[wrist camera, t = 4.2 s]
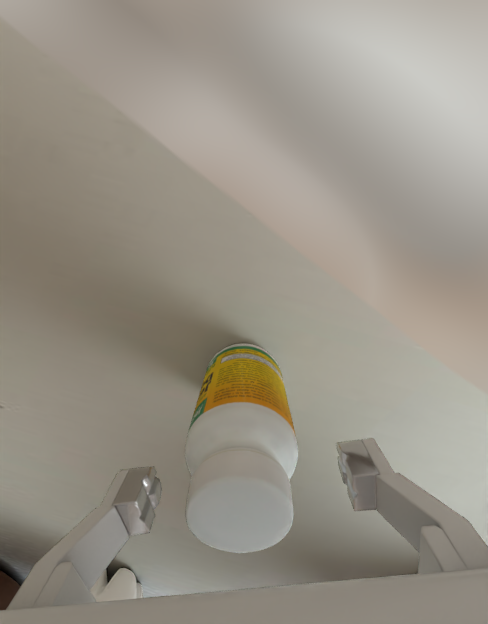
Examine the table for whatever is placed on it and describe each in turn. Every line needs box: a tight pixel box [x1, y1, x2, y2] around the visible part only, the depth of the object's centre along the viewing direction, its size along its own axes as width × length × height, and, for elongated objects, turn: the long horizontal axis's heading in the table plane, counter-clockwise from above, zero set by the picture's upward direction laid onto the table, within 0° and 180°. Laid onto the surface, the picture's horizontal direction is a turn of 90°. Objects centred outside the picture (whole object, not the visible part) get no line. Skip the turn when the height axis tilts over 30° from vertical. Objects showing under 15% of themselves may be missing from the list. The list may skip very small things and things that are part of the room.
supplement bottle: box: [185, 344, 298, 553], centre depth 14 cm, size 5×5×10 cm
